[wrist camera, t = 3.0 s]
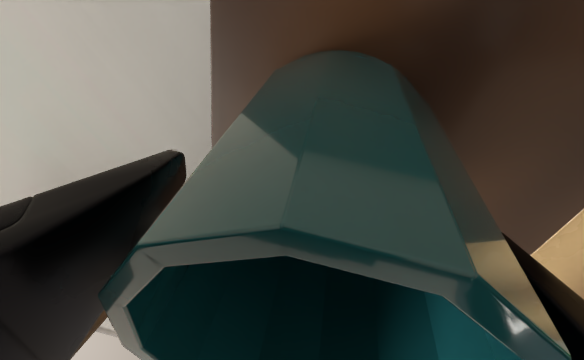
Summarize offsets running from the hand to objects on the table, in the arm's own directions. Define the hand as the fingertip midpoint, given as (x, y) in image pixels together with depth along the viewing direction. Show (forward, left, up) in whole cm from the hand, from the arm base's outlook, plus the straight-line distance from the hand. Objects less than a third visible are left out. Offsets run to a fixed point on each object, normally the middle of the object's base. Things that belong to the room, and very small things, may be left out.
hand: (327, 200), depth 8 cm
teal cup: (0, 0, -3) cm, 3 cm away
